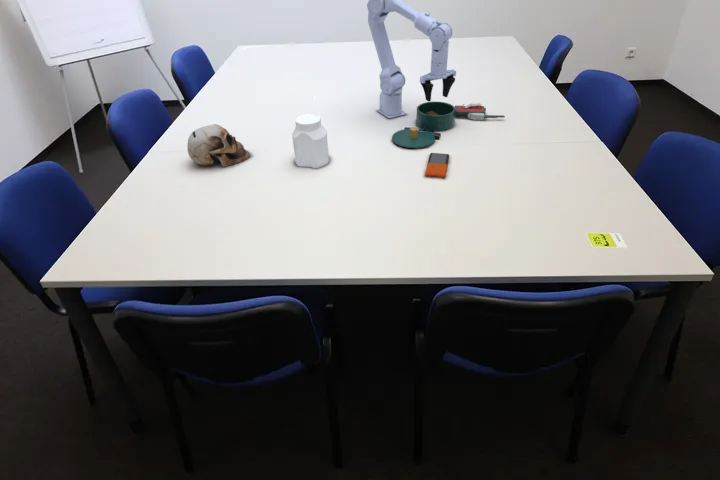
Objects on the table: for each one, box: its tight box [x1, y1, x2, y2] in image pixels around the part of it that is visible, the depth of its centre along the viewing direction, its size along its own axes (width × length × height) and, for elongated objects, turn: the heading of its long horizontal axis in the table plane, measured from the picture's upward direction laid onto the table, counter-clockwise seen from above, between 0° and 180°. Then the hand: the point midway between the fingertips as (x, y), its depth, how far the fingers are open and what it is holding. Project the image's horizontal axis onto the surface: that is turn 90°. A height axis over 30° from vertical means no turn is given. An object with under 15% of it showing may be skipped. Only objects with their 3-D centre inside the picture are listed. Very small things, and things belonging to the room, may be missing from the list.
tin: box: [415, 101, 456, 132], centre depth 180 cm, size 14×14×6 cm
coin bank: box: [186, 123, 251, 168], centre depth 160 cm, size 16×17×13 cm
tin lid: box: [391, 127, 436, 149], centre depth 170 cm, size 15×15×4 cm
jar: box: [291, 113, 330, 169], centre depth 156 cm, size 12×10×15 cm
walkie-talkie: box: [454, 102, 506, 121], centre depth 185 cm, size 9×4×20 cm
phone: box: [424, 152, 450, 179], centre depth 154 cm, size 6×1×15 cm
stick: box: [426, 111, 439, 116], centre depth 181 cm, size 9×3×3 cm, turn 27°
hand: (436, 98), depth 176 cm, fingers open, 7 cm apart
